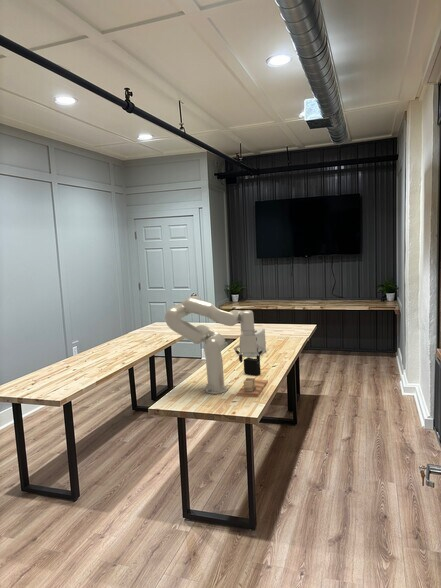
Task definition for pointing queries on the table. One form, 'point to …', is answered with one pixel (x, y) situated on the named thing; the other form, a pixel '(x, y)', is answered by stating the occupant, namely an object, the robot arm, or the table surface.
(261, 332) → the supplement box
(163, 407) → the table surface
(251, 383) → the block
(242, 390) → the board
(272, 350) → the table surface
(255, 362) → the electronic device
